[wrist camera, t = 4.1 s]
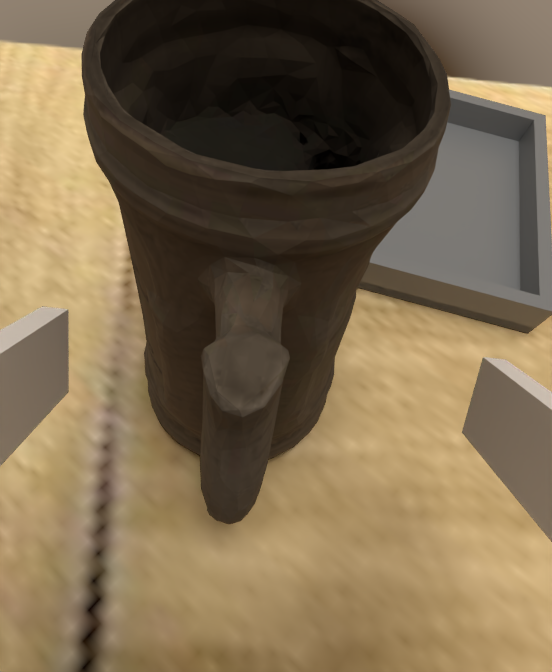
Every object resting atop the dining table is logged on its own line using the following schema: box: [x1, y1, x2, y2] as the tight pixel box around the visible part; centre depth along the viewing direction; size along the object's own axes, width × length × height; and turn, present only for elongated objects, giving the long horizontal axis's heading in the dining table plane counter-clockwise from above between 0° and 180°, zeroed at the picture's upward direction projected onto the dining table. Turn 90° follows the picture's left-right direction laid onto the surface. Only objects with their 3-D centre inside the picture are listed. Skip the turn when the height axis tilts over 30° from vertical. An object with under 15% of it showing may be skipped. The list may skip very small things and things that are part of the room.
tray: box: [358, 90, 552, 333], centre depth 37 cm, size 16×20×3 cm
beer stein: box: [82, 0, 451, 524], centre depth 20 cm, size 15×11×20 cm
